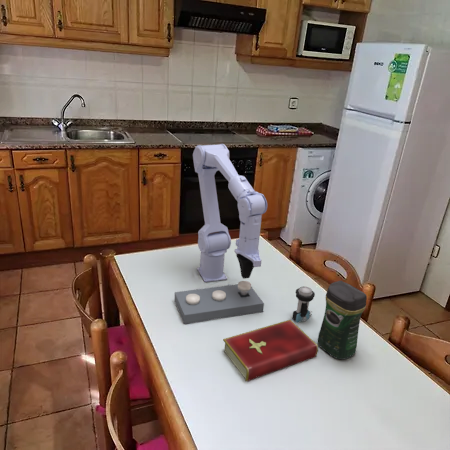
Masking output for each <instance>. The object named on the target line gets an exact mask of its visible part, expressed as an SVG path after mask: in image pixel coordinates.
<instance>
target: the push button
mask: <svg viewBox="0 0 450 450" xmlns="http://www.w3.org/2000/svg"><path fill="white" fill-rule="evenodd" d="M295 297H296V298H297V300H298V301H297V307H296V310H294V311H292V316H291V318H292V321H295V322H296V323H298V324H299V323H301V322H306V321H307V320H309V319H310V316H312V315H313V314H312V313H313V311H312V310H309V306H310V302H312V301H314V297H316V294H315V291H313V289H312V288H311V287H309V286H301V287H298V288H297V289H296V290H295Z"/></svg>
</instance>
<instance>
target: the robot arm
mask: <svg viewBox="0 0 450 450" xmlns="http://www.w3.org/2000/svg"><path fill="white" fill-rule="evenodd" d="M192 160H193V167H194V172H195V173H196V174H197V176H198V181H199V190H200V198H201V204H202V205H201V206H202V212H203V219H204V225H203V226H202V227H201V228H200V229H199V230H198V232H197V233H198V234H197V235H198V239H197V245H198V249H199V251H200V254H199V257H200V259H199V266H198V267H197V268H196V269H197V271H198V273H199V275H200V277H201V279H202V280H203V282H204V283H208V282H209V283H210V282H217V281H225V280H227V279H228V277H227V275H226V274H225V272H224V271H225V270H224V269H225V268H224V267H225V254H226V253H227V251H228V250H230V248H231V246H232V245H231V244H232V238H231V235H230V233H229V229H228V226H226V225H224V224H223V223H221V217H220V216H221V215H220V209H219V201H218V194H217V185H216V179H215V175H216V173H217V172H218V171H219V172H220V173H221V175H223V177H224V178H225V179H226V181H228V184H227V185H228V186H227V187H228V189H229V191H230V193H231V195H232V196H233V197H234V199H235V200H236V201H237V209H238V214H239V215H238V218H239V221H240V225H239V238H237V239H236V240H235V246H236V247H237V248H235V249H234V250H233V251H234V253H235V256H236V258H237V261H238V263H239V269H240V274H241V275H240V276H241V278H242V279H249V278H250V277H251V274H252V272H253V269H254V268H258V267H259V268H260V267H262V259H261V255H260V250H259V245H260V233H261V225H262V219H263V218H262V217H263V215H264V214H265V213H266V212H267V210H268V201H267V199H266V197H265V195H264V194H263V193H260V192H258V191H256V190H255V189H254V188H253V186H252V185H251V184H250V182H249V181H248V179H247V178H246V177H245V176H244V175H240V174H238V171H237V170H236V168H235V166H234V164H233V163H232V161H231V160H230V150H229V149H228V147H227V146H226V145H225V144H224V143H219V144H204V145H201V144H198V145H196V146H195V148H194V150H193V153H192Z"/></svg>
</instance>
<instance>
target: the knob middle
mask: <svg viewBox="0 0 450 450" xmlns="http://www.w3.org/2000/svg"><path fill="white" fill-rule="evenodd" d="M212 298H213V299H214V300H215V301H223V300H225V298H226V293H225V292H224V291H221V290H216V291H214V292H213V293H212Z"/></svg>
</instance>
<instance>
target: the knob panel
mask: <svg viewBox="0 0 450 450" xmlns="http://www.w3.org/2000/svg"><path fill="white" fill-rule="evenodd" d="M216 290H221V291H224V292H225V293H226V298H225V300H223V301H215V300H214V299H213V298H212V293H213V292H214V291H216ZM188 294H197V295H199V296H200V302H199V303H198V304H196V305H189V304H188V303H187V302H186V296H187V295H188ZM174 302H175V306H176V307H177V310H178V313H179V316H180V317H181V319H182V322H183V325H189V324H194V323H200V322H207V321H213V320H221V319H225V318H226V319H227V318H232V317H233V318H234V317H238V316H239V317H240V316H245V315H252V314H257V313H258V314H259V313H263V312H264V307H265V303H264V301H263V300H262V299H261V297H260V295H258V293H257V292H256V291H255V290H254V288H253V287H252V286H251V290H249V291H247V295H242V294H241V290H239V289H238V283H237V284H236V283H235V284H228V285H221V286H219V285H218V286H212V287H205V288H198V289H196V288H195V289H189V290H182V291H174Z"/></svg>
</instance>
